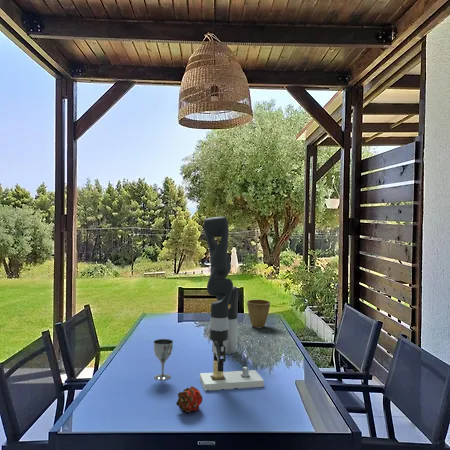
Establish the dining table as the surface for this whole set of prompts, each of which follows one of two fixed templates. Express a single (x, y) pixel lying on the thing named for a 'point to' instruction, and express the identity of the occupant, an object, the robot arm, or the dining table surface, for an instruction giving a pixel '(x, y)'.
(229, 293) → the robot arm
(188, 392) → the dragon fruit
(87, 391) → the dining table surface
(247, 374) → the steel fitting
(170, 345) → the wine glass
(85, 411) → the dining table surface
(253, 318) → the plant pot
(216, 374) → the cylinder
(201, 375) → the plate
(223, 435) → the dining table surface
